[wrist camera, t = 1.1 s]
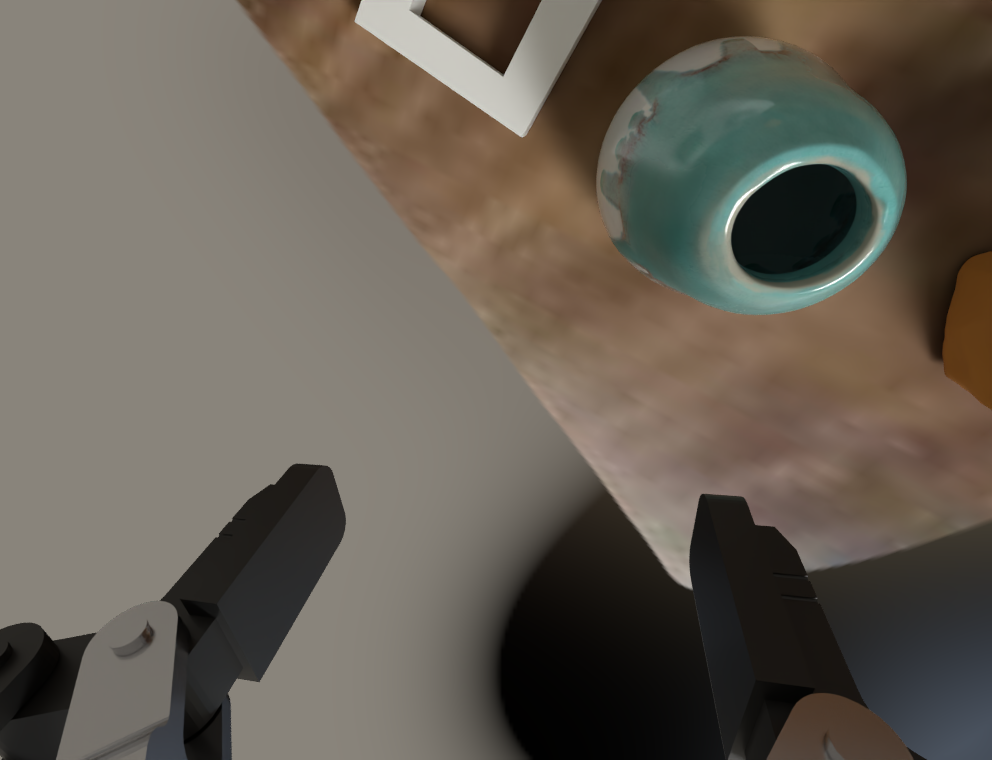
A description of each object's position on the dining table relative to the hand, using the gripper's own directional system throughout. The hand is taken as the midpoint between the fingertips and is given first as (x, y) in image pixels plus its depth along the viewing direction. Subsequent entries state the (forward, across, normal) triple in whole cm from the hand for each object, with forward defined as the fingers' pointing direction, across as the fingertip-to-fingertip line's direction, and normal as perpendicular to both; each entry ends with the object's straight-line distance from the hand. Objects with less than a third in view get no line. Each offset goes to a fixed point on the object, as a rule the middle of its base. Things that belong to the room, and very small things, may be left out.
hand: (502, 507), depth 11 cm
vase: (+26, -8, -4) cm, 27 cm away
